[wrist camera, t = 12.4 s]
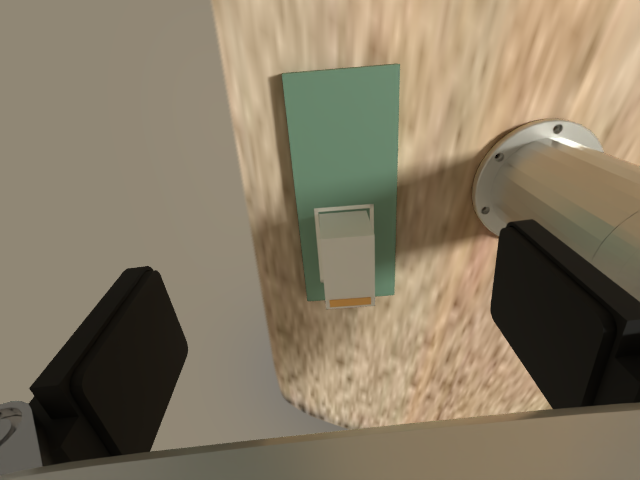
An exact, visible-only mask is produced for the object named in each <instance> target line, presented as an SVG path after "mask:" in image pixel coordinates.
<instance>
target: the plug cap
mask: <svg viewBox="0 0 640 480" xmlns="http://www.w3.org/2000/svg"><path fill="white" fill-rule="evenodd" d="M319 224H320V243H321V255H322V266H323V278H324V290H325V302H326V309H339V308H352V307H366V306H375V235H374V232H373V229H372V226H371V223H370V220H369V217H368V214H367V211H366V210H364V211H352V212H339V213H326V214H319Z"/></svg>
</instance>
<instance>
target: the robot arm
mask: <svg viewBox="0 0 640 480" xmlns="http://www.w3.org/2000/svg"><path fill="white" fill-rule="evenodd" d="M553 128H554V129H553ZM497 154H498V155H497ZM496 155H497V156H496ZM495 156H496V157H495ZM472 201H473V206H474V210H475V212H476V214H477V217H478V218H479V219H480V221H481V222H482V223H483V225H484V226H485V227H487V228H488V229H489V230H490V231H491V232H492V233H494V234H496V235H497V236H499V241H498V250H497V258H496V266H495V274H494V283H493V291H492V299H491V315H492V318H493V320H494V322H495V323H496V325H497V326H498V328H499V329H500V331H501V332H502V334H503V335H504V337H505V338H506V340H507V341H508V343H509V344H510V346H511V347H512V349H513V350H514V352H515V353H516V355H517V356H518V358H519V359H520V361H521V362H522V364H523V365H524V367H525V368H526V370H527V371H528V373H529V374H530V375H531V377H532V378H533V380H534V381H535V383H536V384H537V386H538V387H539V389H540V390H541V392H542V393H543V395H544V396H545V398H546V399H547V401H548V402H549V404H550V405H551V407H552V408H553V409H551V410H539V411H529V412H519V413H509V414H499V415H489V416H479V417H469V418H459V419H449V420H439V421H429V422H419V423H410V424H400V425H391V426H381V427H372V428H362V429H353V430H343V431H334V432H324V433H315V434H306V435H296V436H287V437H278V438H268V439H260V440H250V441H241V442H233V443H224V444H215V445H206V446H197V447H188V448H179V449H170V450H162V451H152V452H150V450H151V448H152V445H153V442H154V440H155V437H156V435H157V432H158V429H159V427H160V424H161V422H162V419H163V416H164V414H165V411H166V409H167V406H168V403H169V401H170V398H171V396H172V393H173V391H174V388H175V385H176V383H177V380H178V378H179V375H180V373H181V370H182V367H183V365H184V362H185V359H186V357H187V353H188V346H187V341H186V339H185V336H184V334H183V331H182V328H181V326H180V323H179V321H178V319H177V316H176V313H175V311H174V308H173V306H172V303H171V301H170V298H169V295H168V293H167V291H166V288H165V285H164V283H163V281H162V278H161V275H160V273H159V272H158V271H156V270H155V271H153V269H152V268H151V267H149V266H145V267H137V268H129V269H126V270H125V271H124V272H123V273H122V274H121V276H120V277H119V278H118V279H117V280H116V282H115V283H114V284H113V286H112V287H111V288H110V289H109V290H108V292H107V293H106V294H105V296H104V297H103V298H102V299H101V300H100V302H99V303H98V304H97V305H96V307H95V308H94V309H93V310H92V311H91V313H90V314H89V315H88V316H87V318H86V319H85V320H84V321H83V323H82V324H81V325H80V326H79V328H78V329H77V330H76V331H75V332H74V334H73V335H72V336H71V337H70V339H69V340H68V341H67V342H66V344H65V345H64V346H63V347H62V349H61V350H60V351H59V352H58V354H57V355H56V356H55V357H54V358H53V360H52V361H51V362H50V363H49V365H48V366H47V367H46V369H45V370H44V371H43V372H42V373H41V375H40V376H39V377H38V378H37V379H36V381H35V382H34V383H33V384H32V386H31V387H30V390H31V392H33V394H34V398H33V399H32V400H31V402H30V403H29V404H28V403H25V402H22V401H11V402H7V403H4V404H0V480H640V166H638V165H636V164H633V163H630V162H627V161H625V160H622V159H619V158H617V157H614V156H611V155H608V154H606V153H604V151H603V147H602V145H601V144H600V142H599V140H598V138H597V137H596V136H595V135H594V134H593V133H592V132H591V131H590V130H589V129H587V128H586V127H584V126H582V125H581V124H578V123H575V122H572V121H568V120H563V119H542V120H538V121H533V122H530V123H528V124H525V125H523V126H520V127H518V128H517V129H515V130H513V131H511V132H510V133H508V134H507V135H505V136H504V137H503V138H502V139H501V140H499V141H498V142H497V143H496V144H495V145H494V146H493V147H492V148H491V150H490V151H489V152H488V153H487V154H486V156H485V157H484V159H483V161H482V162H481V164H480V166H479V168H478V170H477V172H476V175H475V178H474V182H473V187H472ZM482 208H483V209H482Z"/></svg>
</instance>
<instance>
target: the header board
mask: <svg viewBox="0 0 640 480" xmlns="http://www.w3.org/2000/svg"><path fill="white" fill-rule="evenodd" d="M399 80H400V64H386V65H374V66H363V67H351V68H339V69H327V70H315V71H303V72H291V73H282V81H283V90H284V98H285V107H286V116H287V125H288V134H289V142H290V151H291V160H292V169H293V178H294V187H295V195H296V204H297V213H298V222H299V231H300V240H301V248H302V257H303V266H304V275H305V284H306V292H307V301H320V300H325V290H324V278H323V266H322V255H321V243H320V224H319V214H326V213H339V212H352V211H364V210H366V211H367V214H368V217H369V220H370V223H371V226H372V229H373V232H374V235H375V296H388V295H394V286H395V245H396V204H397V163H398V122H399Z"/></svg>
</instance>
